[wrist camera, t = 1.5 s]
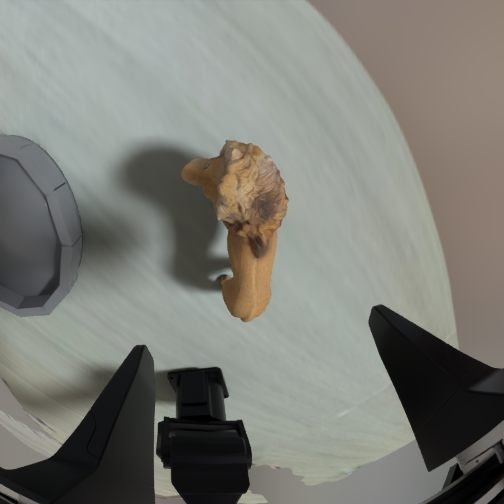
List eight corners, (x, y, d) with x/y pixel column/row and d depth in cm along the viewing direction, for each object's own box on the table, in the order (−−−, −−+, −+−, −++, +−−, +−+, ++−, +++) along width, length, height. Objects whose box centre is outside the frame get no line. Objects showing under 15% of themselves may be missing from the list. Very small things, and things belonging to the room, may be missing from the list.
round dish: (108, 292, 23) (100, 310, 20) (-1, 304, 21) (-10, 318, 19) (57, 105, 14) (39, 106, 12) (-50, 170, 13) (-65, 177, 10)
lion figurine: (186, 139, 18) (169, 160, 10) (260, 126, 18) (300, 137, 10) (224, 303, 25) (234, 383, 17) (280, 291, 25) (309, 366, 18)
